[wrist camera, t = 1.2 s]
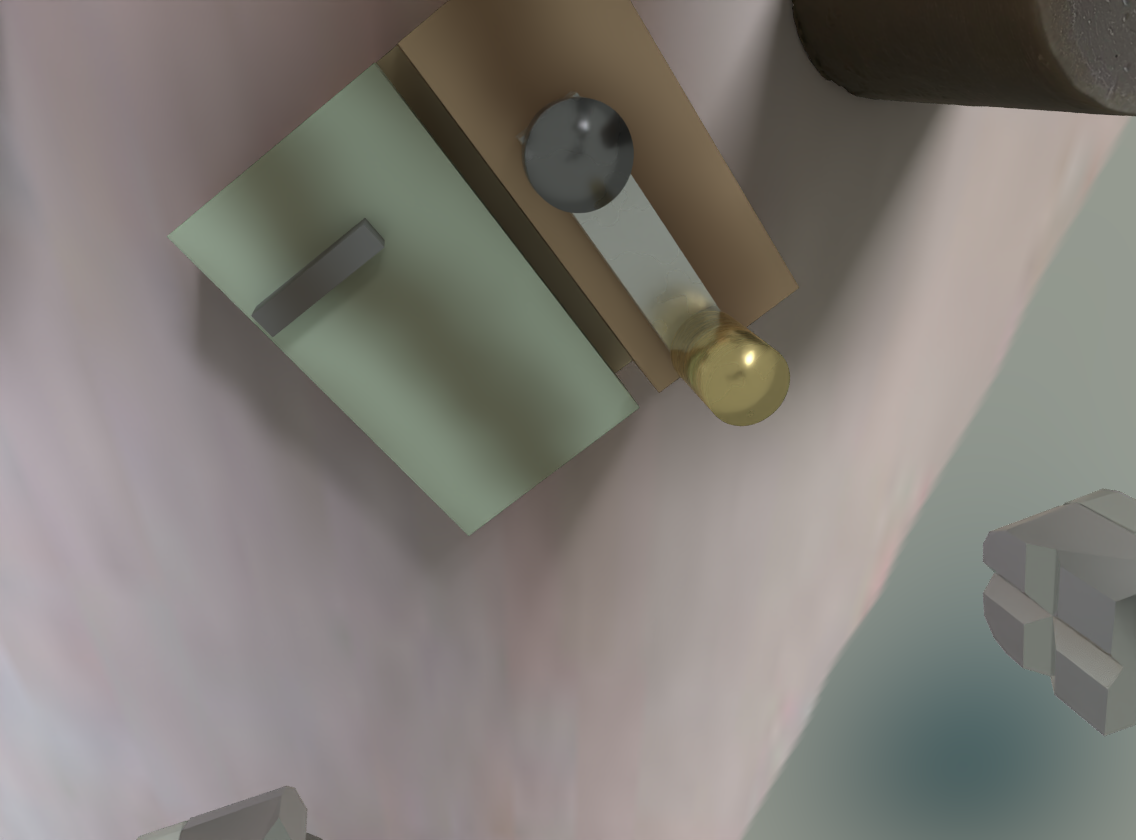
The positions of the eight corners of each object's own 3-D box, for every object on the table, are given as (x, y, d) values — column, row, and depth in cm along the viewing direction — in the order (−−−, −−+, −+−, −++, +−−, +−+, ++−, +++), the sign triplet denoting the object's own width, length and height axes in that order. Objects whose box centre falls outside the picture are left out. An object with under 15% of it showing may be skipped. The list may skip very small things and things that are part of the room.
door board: (541, -75, 30) (577, -109, 24) (745, 257, 37) (813, 295, 31) (202, 209, 32) (157, 244, 26) (458, 475, 39) (471, 551, 33)
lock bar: (496, 140, 27) (516, 155, 23) (580, 72, 27) (617, 74, 22) (681, 393, 33) (727, 447, 28) (753, 340, 32) (811, 385, 28)
